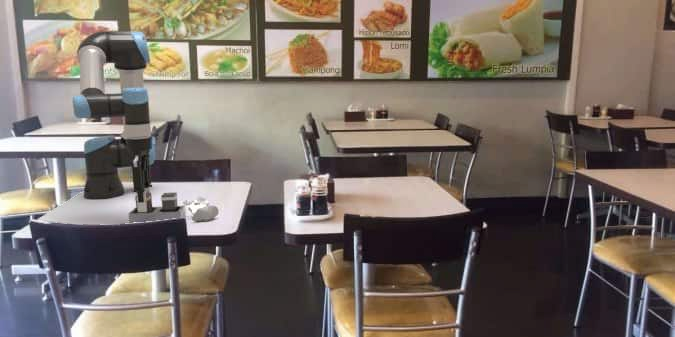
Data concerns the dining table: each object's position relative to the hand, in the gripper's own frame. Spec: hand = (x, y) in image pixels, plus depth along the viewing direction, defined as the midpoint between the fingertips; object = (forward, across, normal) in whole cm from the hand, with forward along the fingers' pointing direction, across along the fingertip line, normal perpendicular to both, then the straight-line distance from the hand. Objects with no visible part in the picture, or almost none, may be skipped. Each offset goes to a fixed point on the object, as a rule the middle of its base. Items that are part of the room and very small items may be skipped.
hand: (144, 209), depth 183 cm
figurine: (+6, -7, +16) cm, 19 cm away
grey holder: (+5, 0, +4) cm, 7 cm away
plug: (+4, 0, 0) cm, 4 cm away
